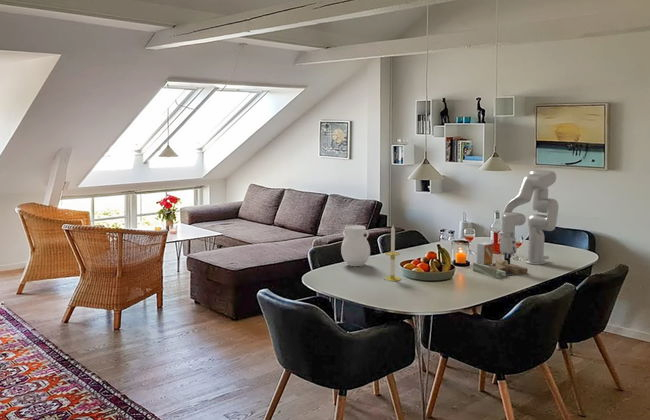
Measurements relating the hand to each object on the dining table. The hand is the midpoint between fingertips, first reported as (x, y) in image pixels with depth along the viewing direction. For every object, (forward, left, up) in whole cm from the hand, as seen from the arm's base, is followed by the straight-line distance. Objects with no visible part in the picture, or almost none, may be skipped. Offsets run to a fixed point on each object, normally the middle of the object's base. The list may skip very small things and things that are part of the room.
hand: (507, 264), depth 393 cm
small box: (-2, -23, -5) cm, 24 cm away
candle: (+73, -16, -5) cm, 74 cm away
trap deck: (+5, 0, -4) cm, 7 cm away
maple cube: (+4, 0, -2) cm, 4 cm away
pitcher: (+75, -56, -5) cm, 94 cm away
